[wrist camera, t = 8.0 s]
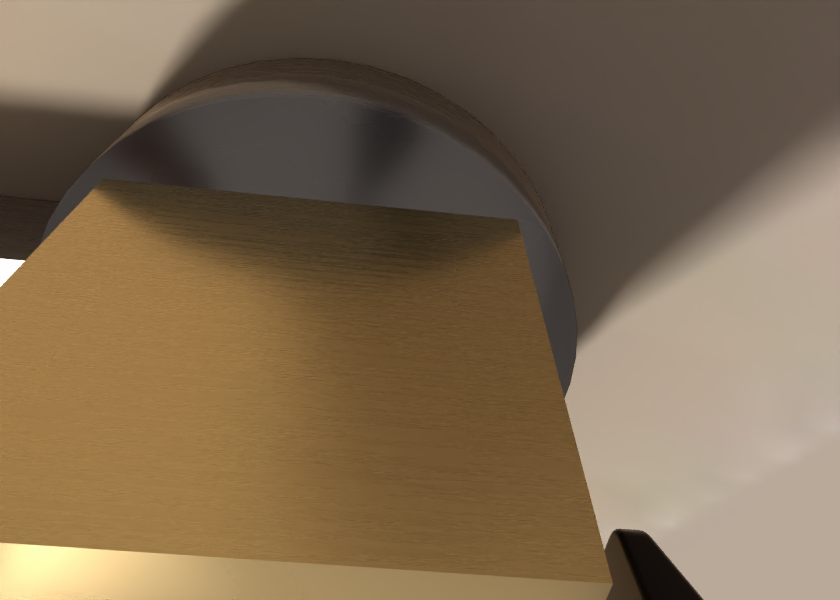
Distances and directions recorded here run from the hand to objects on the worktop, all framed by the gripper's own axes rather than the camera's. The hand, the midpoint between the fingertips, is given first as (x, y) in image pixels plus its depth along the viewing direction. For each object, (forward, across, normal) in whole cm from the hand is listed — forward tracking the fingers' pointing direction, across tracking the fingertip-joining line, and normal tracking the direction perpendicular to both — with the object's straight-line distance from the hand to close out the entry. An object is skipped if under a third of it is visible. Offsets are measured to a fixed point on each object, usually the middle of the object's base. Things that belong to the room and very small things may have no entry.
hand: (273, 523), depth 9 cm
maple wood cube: (+3, 0, 0) cm, 3 cm away
